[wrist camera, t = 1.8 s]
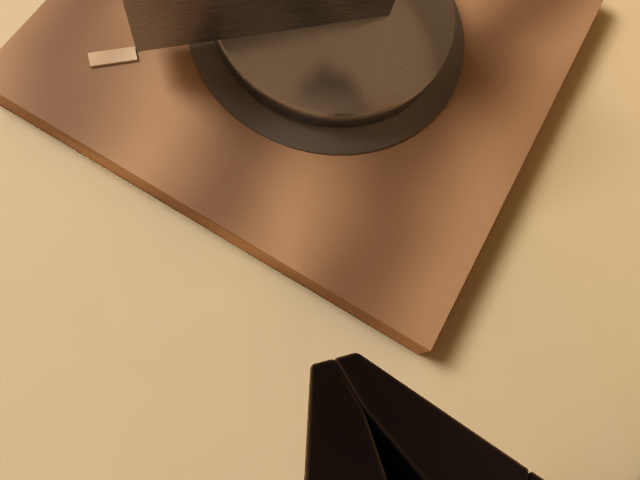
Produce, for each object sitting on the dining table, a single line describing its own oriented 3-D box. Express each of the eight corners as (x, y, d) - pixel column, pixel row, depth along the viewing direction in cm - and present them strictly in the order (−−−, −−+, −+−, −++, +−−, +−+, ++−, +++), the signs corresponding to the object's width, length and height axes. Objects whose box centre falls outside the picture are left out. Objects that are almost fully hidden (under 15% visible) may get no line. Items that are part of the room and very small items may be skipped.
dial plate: (591, 6, 29) (612, -17, 27) (418, 354, 22) (431, 350, 21) (251, -190, 29) (252, -223, 27) (-11, 98, 23) (-29, 76, 21)
